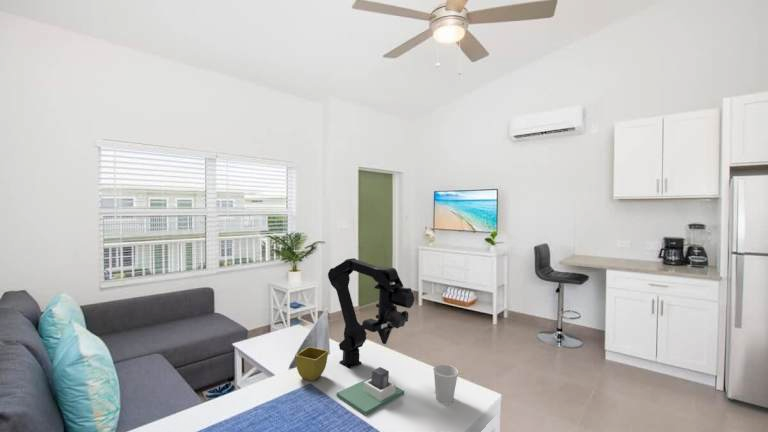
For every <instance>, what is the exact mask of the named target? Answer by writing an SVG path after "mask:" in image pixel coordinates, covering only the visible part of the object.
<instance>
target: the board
mask: <svg viewBox="0 0 768 432" xmlns="http://www.w3.org/2000/svg"><path fill="white" fill-rule="evenodd" d="M371 380H372V376H370V377H368V378H366V379H363V380H361V381H359V382H358V383H355V384H353V385H351V386H349V387H346V388H344V389H342V390H339V391H338V392H336V397H337V398H338V399H340V400H341V401H342V402H344V403H346V404H347V405H349V406H350V407H352V408H353V409H354V410H356V411H357V412H359V413H361V414H362V415H364V416H367V415H369V414H371V413H373V412H375V411H376V410H378V409H380V408H382V407H383V406H385V405H387V404H389V403H391V402H393V401H394V400H396V399H398V398H400V397H401V396H403V395H405V390H403V389H402V388H400V387H398V386H397V385H396V383H394V382H392V381H390V380H389V379H388V387H386V388H384V389H382V390H380V389H378V388H376V387H374V386H373V385H371Z"/></svg>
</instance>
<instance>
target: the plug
mask: <svg viewBox="0 0 768 432" xmlns="http://www.w3.org/2000/svg"><path fill="white" fill-rule="evenodd" d="M389 373H390V371H389V370H388V369H386V368H383V367H381V366H379V367H377V368H375V369H372V370H371V377H372V380H371V385H373V386H374V387H376V388H378V389H380V390H382V389H384V388H386V387H388V380H389V377H390V376H389V375H390V374H389Z"/></svg>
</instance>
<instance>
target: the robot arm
mask: <svg viewBox="0 0 768 432" xmlns="http://www.w3.org/2000/svg"><path fill="white" fill-rule="evenodd" d="M353 272H357V273H359V274H362V275H365V276H368V277H370V278H372V279H373V280H374V281H375V282H376V283H377V284H376V285H375V286H374V289H375V290H378V292H379V293H378V303H376V308H377V309H378V310H377V311H378V312H377V314H376V315H375V319H373V318H368V319H364V320H363V321H362V322H361V323H362V324H360V322H358V318H357V315H356V311H355V308H354V304H353V301H352V295H351V291H350V289H349V284H350V281H351V280H350V279H351V278H350V275H351V274H353ZM327 277H328V280H329V282H330V285H331V286H332V288H334V289H335V291H336V293H337V298H338V302H339V306H340V308H341V313H342V316H343V320H344V331H343V340H342V341H341V342H340V343H338V347H339V350H340V351H342V360H340V361H339V364H341V365H343V366H345V367H346V368H349V369H351V368H353V367H356V366H359V365H361V364H362V361H360V349H359V348H362V347H363V345H364V344H365V342H366V340H367V331H369V332H371V333H378V335H379V337H380V338H379V339H380V340H381V341H380V342H381V343H382V344H383V345H386V344H387V343H388V340H389V337H390V335H391V332H392V330H393V329H399V328H402V327H403V328H404V326H405V324H406V323H407V322H409V312H408V311H407V310H404V311H402V312H401V311H399V310H398V309H397V306H398V307H402V308H406V309H410V308H412V306H413V305H414V302H415V296H414V293H413V292H412V288H411V287H404V284H403V282H402V281H401V279H400V276H399V273H398V270H397V269H396V268H394V267H389V266H376V265H373V264H370V263H367V262H365V261H362V260H359V259H356V258H355V257H354V258H347V259H345V260H344V261H343V262H341V263H339V264H338V265H335V267H331V268H330V269H329V271H328V273H327Z"/></svg>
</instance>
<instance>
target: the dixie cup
mask: <svg viewBox="0 0 768 432" xmlns="http://www.w3.org/2000/svg"><path fill="white" fill-rule="evenodd" d="M459 372H460V371H459V370H458V368H456V367H455V366H453V365H450V364H444V363H443V364H437V365H435V366H434V367H433V377H434V378H433V379H434V388H435V389H434V391H435V392H434V394H435V400H436V401H437V402H439V403H441V404H442V405H450V404H452V403H453V401H454V398H455V397H454V396H455V392H456V386H457V381H458V380H457V379H458V375H459Z"/></svg>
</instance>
